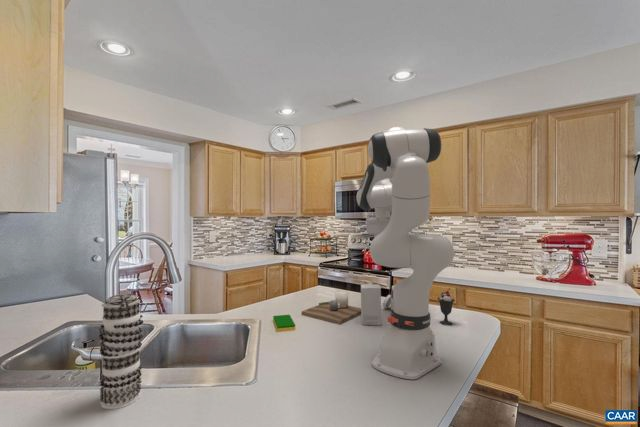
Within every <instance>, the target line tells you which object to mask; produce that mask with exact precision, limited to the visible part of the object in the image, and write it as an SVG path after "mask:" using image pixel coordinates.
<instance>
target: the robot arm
mask: <svg viewBox="0 0 640 427" xmlns="http://www.w3.org/2000/svg"><path fill="white" fill-rule="evenodd" d="M441 151H442V139H441V135H440V134H439V132H438V131H437V130H435V129H433V128H425V127H424V128H421V129H420V128H418V129H417V128H413V129H412V128H411V129H407V128H405V127H403V126H393V127H391V128H390V127H389V129H387V130H386V131H385V132H383V131H381V132H377V133H374V134H372V136H371V137H370V138H369V142H368V146H367V152H368V157H369V159H370V161H371V162H370V163H369V164H368V165H367V166H366V169H365V172H364V175H363V178H362V181H361V183H360V186H359V189H358V190H357V191H356V195H355V196H356V199H355V200H356V203H357V206H358V207H359V208H361V209H362V210H364V211H369V210H372V209H374V212H375V213H373V214H368V215H367V216H366V217H365V221H366V222H365V223H366V233H367V234H368V235H373V237H374V238H372V240H371V242H370V246H369V254H370V257H371V260H372V261H373V262H374V264H375V265H379V266H383V267H386V268H393V269H394V268H396V269H397V268H400V269H412V273H411V275H409V276H408V277H405V278H403V279H401V280H398V281H397V282H396V283H395V284H394V285H393V286H394V288H393V309H392V311H391V312H390V315H388V316H387V319H386V322H387V323H389V326H388V328H387V330H386V332H385V334H384V336H383V338H382V341H381V343H380V347H379V351H378V353H377V354H376V356H375V357H374V359H372V362H371V367H373V369H376V371H379V372H382V373H384V374H387V375H389V376H390V375H391V376H393V377H396V378H401V379H404V380H405V379H406V380H417V379H419V378H422V377H423V376H424V375H425V374H427V373H429V372H430V371H432V370H434V369H435V368H436V367H438V366H440V365H441V364H442V360H441V359H440V358H439V357H437V348H436V345H437V344H436V335H435V333H434V332H433V330H432V329H431V327H430V326H431V317H432V316H431V312H430V308H429V307H430V305H429V304H430V293H431V287H432V285H433V282H434V280H435V279H436V278H437V276H438V275H439V274H440V273H441V272H442V271H444V270H446V268H448V267H449V266H450V265H451V264H452V262H453V261H454V257H455V248H454V246H453V243H452V241H451V240H450V239H449V238H448V237H446V236H442V235H437V234H432V233H431V234H429V233H428V234H427V233H424V234H423V233H410V232H411V231H412V230H414V229H416V228H418V227H420V226H422V225H424V224H425V223H426V222H427V221H428V220H429V218H430V214H431V179H430V170H429V166H428V164H429V163H432V162H435V161H437V159H438V158H439V157H440V155H441ZM391 179H392V182H391Z"/></svg>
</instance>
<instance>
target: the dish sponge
mask: <svg viewBox="0 0 640 427" xmlns="http://www.w3.org/2000/svg"><path fill="white" fill-rule="evenodd" d="M272 320H273V324H274V327H275V329H276V332H279V333H280V332H289V331H295V330H296V324H295V322H294V320H293V318H292V316H291V315H290V314H279V315H273V316H272Z"/></svg>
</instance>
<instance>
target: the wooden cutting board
mask: <svg viewBox="0 0 640 427" xmlns="http://www.w3.org/2000/svg"><path fill="white" fill-rule="evenodd" d="M301 316H305V317H310V318H313V319H317V320H321V321H324V322H328V323H332V324H337V325H342V324H344V323H347V322H348V321H351V320H352V319H354V318H357V317H359V316H361V307H357V306H353V305H349V304H348V307H345V308H338V310H330V301H325V302H323V301H322V302H319V303H318V304H317V305H315V306H312V307H310V308H307V309H304V310H301Z"/></svg>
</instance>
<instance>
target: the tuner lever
mask: <svg viewBox="0 0 640 427" xmlns="http://www.w3.org/2000/svg"><path fill="white" fill-rule="evenodd" d="M329 302H330V310H338V308H345V307H348V305H349V292H348V291H347V290H336V291H335V300H329Z"/></svg>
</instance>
